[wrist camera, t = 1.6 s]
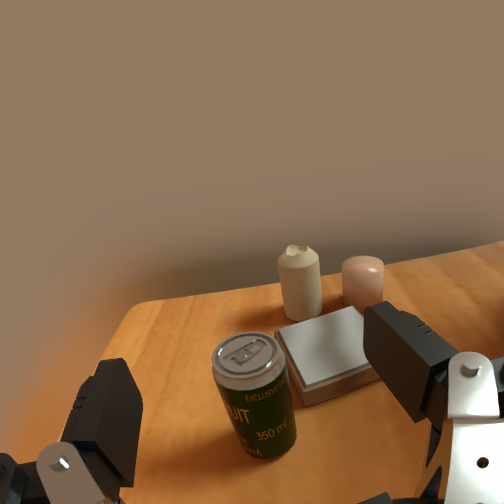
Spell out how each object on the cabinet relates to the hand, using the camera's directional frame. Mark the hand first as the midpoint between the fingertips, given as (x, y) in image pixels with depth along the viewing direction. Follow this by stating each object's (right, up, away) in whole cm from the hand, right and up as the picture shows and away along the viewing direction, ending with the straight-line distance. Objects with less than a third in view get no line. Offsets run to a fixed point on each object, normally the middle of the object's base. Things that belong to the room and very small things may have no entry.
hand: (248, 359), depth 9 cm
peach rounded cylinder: (+16, -4, +34) cm, 38 cm away
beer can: (+2, -15, +16) cm, 22 cm away
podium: (+10, -9, +25) cm, 28 cm away
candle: (+8, -5, +35) cm, 36 cm away
